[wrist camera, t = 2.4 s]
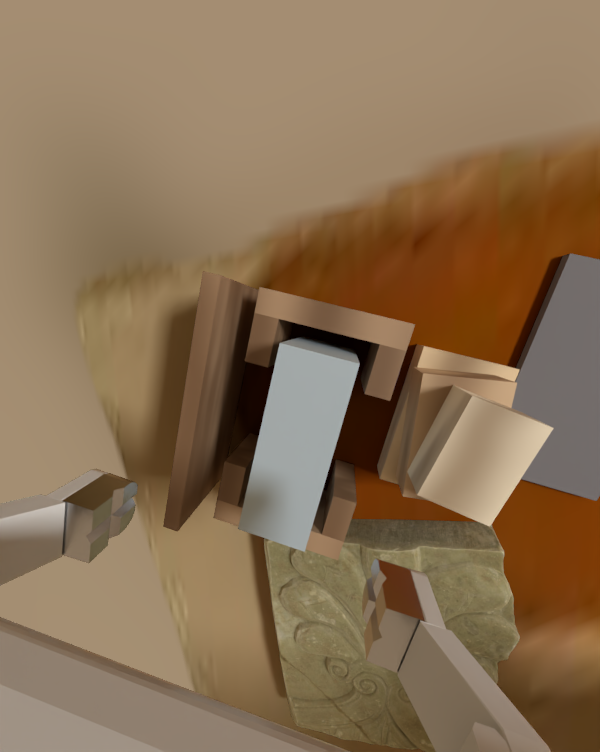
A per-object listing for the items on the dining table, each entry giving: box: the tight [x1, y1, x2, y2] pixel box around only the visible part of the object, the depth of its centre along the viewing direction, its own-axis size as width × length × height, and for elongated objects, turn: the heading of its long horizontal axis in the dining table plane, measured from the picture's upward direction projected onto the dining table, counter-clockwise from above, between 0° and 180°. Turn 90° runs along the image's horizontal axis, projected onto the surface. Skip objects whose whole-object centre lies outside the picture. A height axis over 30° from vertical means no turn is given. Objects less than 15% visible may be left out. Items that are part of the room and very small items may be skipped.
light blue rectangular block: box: [238, 336, 360, 552], centre depth 18 cm, size 4×11×8 cm, turn 166°
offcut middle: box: [396, 367, 517, 501], centre depth 18 cm, size 5×8×2 cm, turn 175°
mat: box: [511, 254, 600, 501], centre depth 19 cm, size 8×15×1 cm, turn 166°
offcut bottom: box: [377, 344, 520, 484], centre depth 20 cm, size 6×10×2 cm, turn 167°
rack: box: [163, 271, 415, 560], centre depth 19 cm, size 12×16×7 cm
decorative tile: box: [264, 519, 520, 752], centre depth 24 cm, size 19×20×4 cm
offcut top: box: [407, 385, 554, 527], centre depth 15 cm, size 4×6×2 cm, turn 159°
